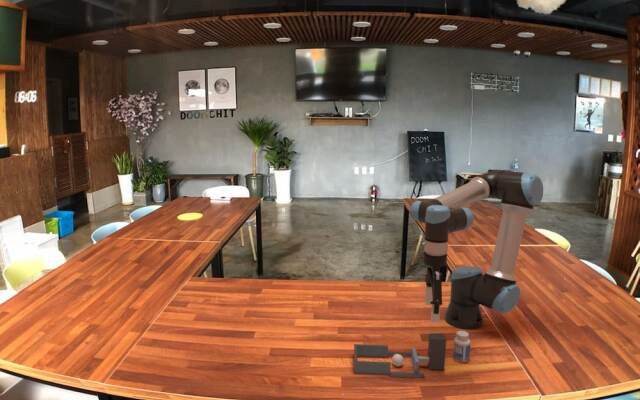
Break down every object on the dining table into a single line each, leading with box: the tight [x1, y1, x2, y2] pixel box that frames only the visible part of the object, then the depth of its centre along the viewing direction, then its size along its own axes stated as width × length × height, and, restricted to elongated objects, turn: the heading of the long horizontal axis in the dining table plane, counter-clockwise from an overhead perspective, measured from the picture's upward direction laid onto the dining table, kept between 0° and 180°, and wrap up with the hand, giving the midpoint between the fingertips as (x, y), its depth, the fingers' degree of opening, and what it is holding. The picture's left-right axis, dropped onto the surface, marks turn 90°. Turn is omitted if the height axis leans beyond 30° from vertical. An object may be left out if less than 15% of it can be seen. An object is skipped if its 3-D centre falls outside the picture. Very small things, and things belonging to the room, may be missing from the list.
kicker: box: [411, 332, 447, 373], centre depth 151 cm, size 10×9×11 cm
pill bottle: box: [453, 330, 471, 363], centre depth 156 cm, size 6×5×10 cm
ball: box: [391, 354, 404, 367], centre depth 153 cm, size 4×4×4 cm
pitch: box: [353, 343, 425, 379], centre depth 153 cm, size 23×14×4 cm, turn 86°
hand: (431, 312), depth 150 cm, fingers open, 13 cm apart
